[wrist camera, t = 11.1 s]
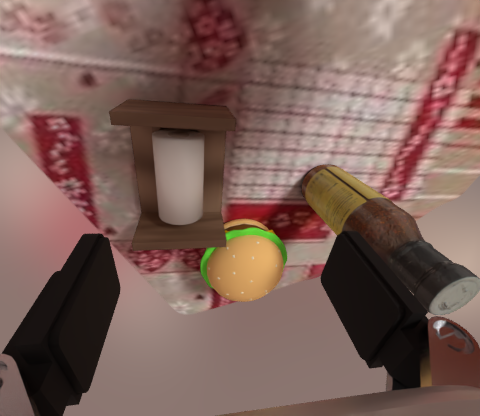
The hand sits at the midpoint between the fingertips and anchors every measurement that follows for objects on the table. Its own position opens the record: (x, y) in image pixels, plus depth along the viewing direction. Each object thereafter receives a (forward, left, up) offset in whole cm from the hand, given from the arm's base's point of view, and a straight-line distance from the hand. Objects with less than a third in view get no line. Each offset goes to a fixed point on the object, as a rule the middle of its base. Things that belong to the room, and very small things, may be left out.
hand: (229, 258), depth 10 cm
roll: (+4, -3, -17) cm, 18 cm away
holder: (+4, -3, -21) cm, 21 cm away
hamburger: (+16, +5, -21) cm, 27 cm away
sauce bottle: (+6, +16, -21) cm, 27 cm away
